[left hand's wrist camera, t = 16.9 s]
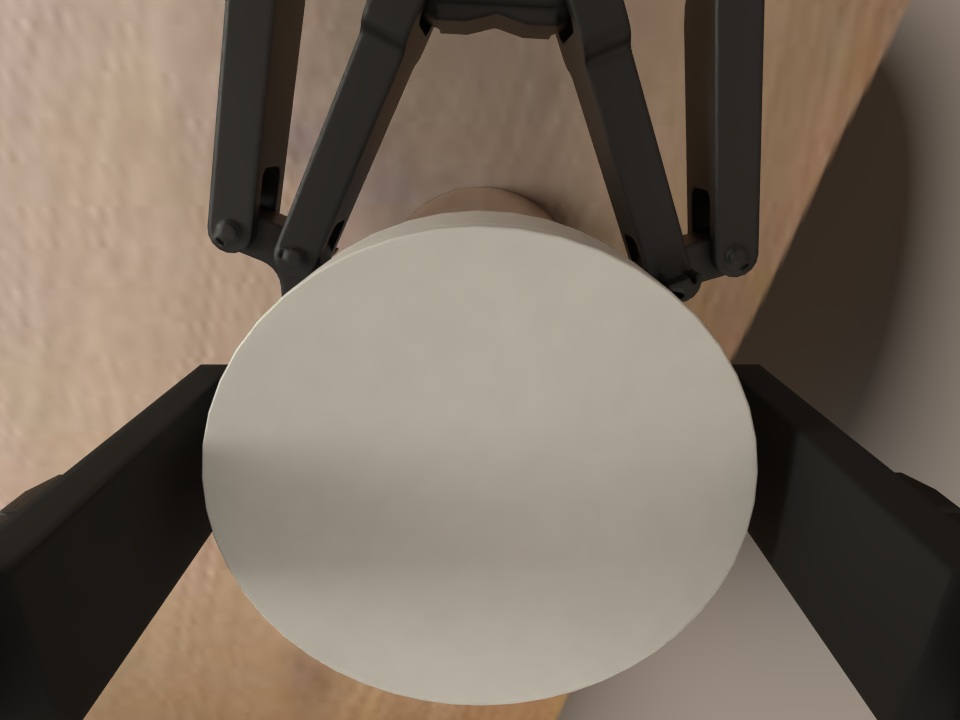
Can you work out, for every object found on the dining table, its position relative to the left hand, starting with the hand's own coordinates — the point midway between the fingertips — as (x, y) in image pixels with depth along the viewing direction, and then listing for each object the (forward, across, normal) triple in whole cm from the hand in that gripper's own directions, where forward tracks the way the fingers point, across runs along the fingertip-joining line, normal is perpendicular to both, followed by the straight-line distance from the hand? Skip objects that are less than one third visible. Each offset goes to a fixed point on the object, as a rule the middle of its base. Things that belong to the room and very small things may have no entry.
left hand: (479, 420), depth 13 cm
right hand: (+6, 0, -5) cm, 8 cm away
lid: (-3, 0, 0) cm, 3 cm away
